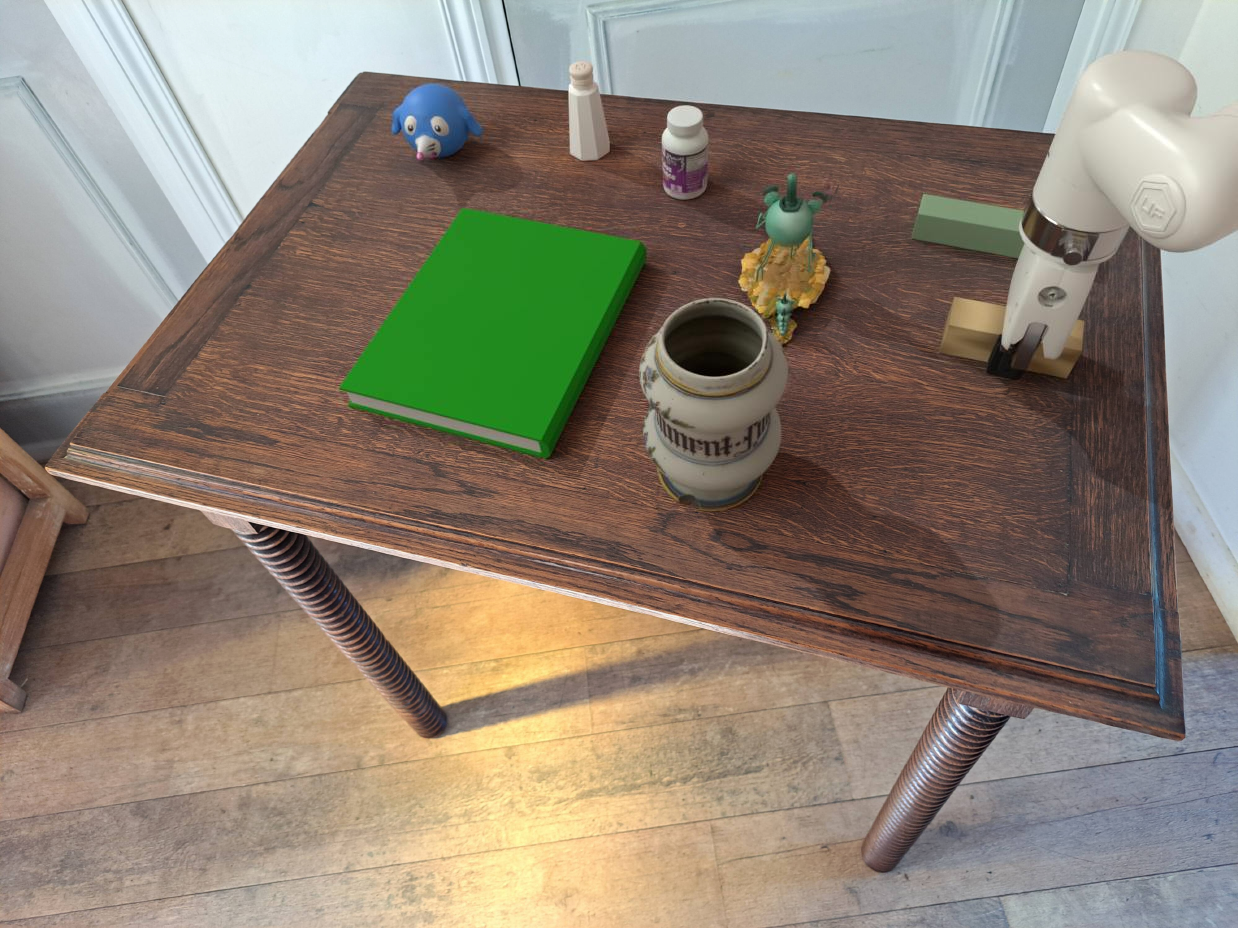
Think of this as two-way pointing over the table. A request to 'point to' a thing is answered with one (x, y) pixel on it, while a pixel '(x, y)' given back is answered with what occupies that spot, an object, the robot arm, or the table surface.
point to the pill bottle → (685, 153)
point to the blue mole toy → (434, 121)
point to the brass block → (980, 326)
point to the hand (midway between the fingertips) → (1003, 371)
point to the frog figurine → (785, 260)
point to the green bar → (969, 225)
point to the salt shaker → (586, 115)
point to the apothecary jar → (713, 402)
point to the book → (498, 331)
